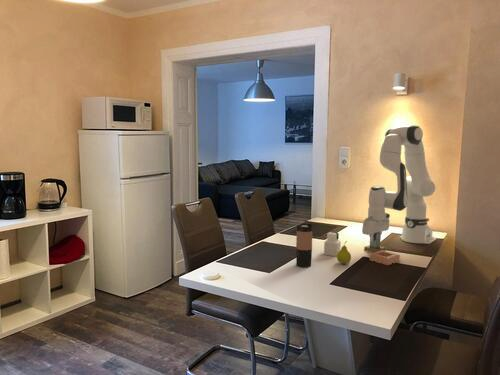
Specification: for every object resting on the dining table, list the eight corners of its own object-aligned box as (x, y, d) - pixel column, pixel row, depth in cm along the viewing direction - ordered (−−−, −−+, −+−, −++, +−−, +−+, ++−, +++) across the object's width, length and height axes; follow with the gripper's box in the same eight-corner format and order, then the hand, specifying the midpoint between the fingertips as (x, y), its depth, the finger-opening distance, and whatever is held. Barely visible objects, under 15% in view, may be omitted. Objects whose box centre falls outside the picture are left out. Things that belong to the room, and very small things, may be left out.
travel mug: (311, 268, 193) (312, 227, 191) (295, 267, 195) (296, 226, 192) (311, 263, 201) (312, 223, 198) (296, 262, 202) (297, 223, 199)
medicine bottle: (327, 251, 221) (328, 230, 220) (340, 253, 218) (341, 231, 217) (323, 254, 215) (324, 232, 214) (337, 256, 212) (337, 234, 210)
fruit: (333, 262, 203) (334, 238, 201) (345, 260, 205) (346, 237, 204) (341, 266, 197) (342, 242, 195) (353, 264, 199) (354, 241, 197)
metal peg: (373, 245, 226) (374, 231, 225) (380, 247, 223) (380, 233, 222) (369, 246, 224) (370, 232, 223) (375, 248, 221) (376, 234, 220)
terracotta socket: (381, 256, 213) (381, 250, 212) (399, 261, 205) (399, 254, 204) (369, 260, 206) (369, 253, 206) (387, 265, 198) (388, 258, 198)
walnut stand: (372, 247, 229) (372, 244, 229) (385, 251, 223) (385, 247, 223) (364, 250, 224) (364, 246, 224) (376, 253, 218) (376, 249, 218)
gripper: (369, 218, 212) (368, 244, 214) (391, 214, 225) (390, 238, 227) (359, 216, 217) (358, 242, 219) (381, 212, 230) (380, 236, 232)
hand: (375, 240), depth 223 cm, fingers closed on metal peg, 4 cm apart
